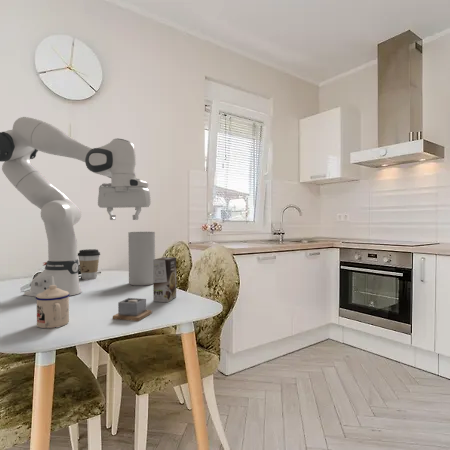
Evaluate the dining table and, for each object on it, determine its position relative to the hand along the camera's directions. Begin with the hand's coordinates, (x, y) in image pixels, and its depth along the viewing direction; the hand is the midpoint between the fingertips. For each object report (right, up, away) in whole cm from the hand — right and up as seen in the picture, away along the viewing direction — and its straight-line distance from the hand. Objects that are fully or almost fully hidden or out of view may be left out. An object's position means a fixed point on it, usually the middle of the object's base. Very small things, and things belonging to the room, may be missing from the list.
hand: (124, 219), depth 129 cm
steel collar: (+8, -30, -18) cm, 36 cm away
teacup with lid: (-13, -32, -27) cm, 44 cm away
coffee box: (+14, -31, +5) cm, 35 cm away
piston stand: (+8, -31, -18) cm, 37 cm away
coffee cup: (-34, -30, +53) cm, 70 cm away
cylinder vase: (-2, -31, +38) cm, 49 cm away
